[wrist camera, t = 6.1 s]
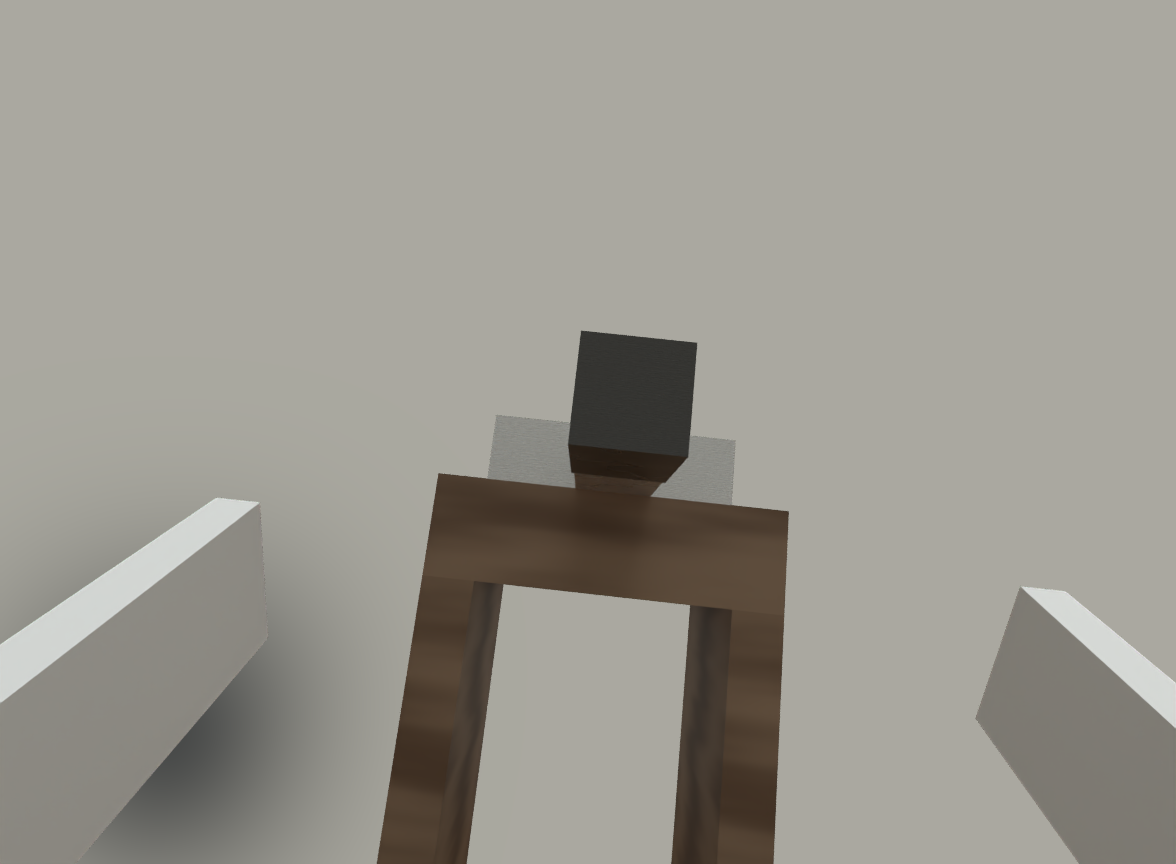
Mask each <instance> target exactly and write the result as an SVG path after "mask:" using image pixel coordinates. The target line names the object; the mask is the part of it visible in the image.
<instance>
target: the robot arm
mask: <svg viewBox="0 0 1176 864" xmlns="http://www.w3.org/2000/svg"><path fill="white" fill-rule="evenodd" d="M267 638H268V629H267V612H266V596H265V579H264V564H263V546H262V530H261V513H260V503H259V502H250V501H241V500H232V499H223V498H216V499H214V500H213V501H211V502H209V503H208V504H206V505H205V506H204V507H202V508H201V509H199V510H198V511H196V512H195V513H193V514H192V515H190V516H189V517H187V518H186V519H185V520H183V521H181V522H180V523H178V524H177V525H176V526H174V527H173V528H171V529H170V530H168V531H167V532H165V533H164V534H162V535H161V536H159V537H158V538H156V539H155V540H153V541H152V542H150V543H149V544H148V545H146V546H145V547H143V548H142V549H140V550H139V551H137V552H136V553H134V554H133V555H131V556H130V557H128V558H127V559H125V560H124V561H123V562H121V563H120V564H118V565H117V566H115V567H114V568H112V569H111V570H109V571H108V572H106V573H105V574H103V575H102V576H100V577H99V578H98V579H96V580H95V581H93V582H92V583H90V584H89V585H87V586H86V587H84V588H83V589H81V590H80V591H78V592H77V593H75V594H74V595H72V596H71V597H69V598H68V599H67V600H65V601H64V602H62V603H61V604H59V605H58V606H56V607H55V608H53V609H52V610H50V611H49V612H48V613H46V614H44V615H43V616H42V617H40V618H39V619H37V620H36V621H34V622H33V623H31V624H30V625H28V626H27V627H25V628H24V629H22V630H21V631H19V632H18V633H16V634H15V635H13V636H12V637H11V638H9V639H8V640H6V641H5V642H3V643H2V644H0V864H76V863H77V862H78V860H79V859H80V858H81V857H82V856H83V855H84V853H85V852H86V851H87V850H88V849H89V848H90V846H91V845H92V844H93V843H94V842H95V840H96V839H97V838H98V837H99V836H100V835H101V833H102V832H103V831H104V830H105V829H106V828H107V826H108V825H109V824H110V823H111V822H112V821H113V819H114V818H115V817H116V816H117V815H118V813H119V812H120V811H121V810H122V809H123V808H124V806H125V805H126V804H127V803H128V802H129V801H130V799H131V798H132V797H133V796H134V795H135V794H136V792H137V791H138V790H139V789H140V788H141V786H142V785H143V784H144V783H145V782H146V781H147V779H148V778H149V777H150V776H151V775H152V773H153V772H154V771H155V770H156V769H157V767H159V765H160V764H161V763H162V762H163V761H164V759H165V758H166V757H167V756H168V755H169V754H170V752H171V751H172V750H173V749H174V748H175V746H176V745H177V744H178V743H179V742H180V741H181V739H182V738H183V737H184V736H185V735H186V734H187V732H188V731H189V730H190V729H191V728H192V726H193V725H194V724H195V723H196V722H197V721H198V720H199V718H200V717H201V716H202V715H203V714H204V713H205V711H206V710H207V709H208V708H209V707H210V705H211V704H212V703H213V702H214V701H215V700H216V698H217V697H218V696H219V695H220V694H221V693H222V691H223V690H224V689H225V688H226V686H228V684H229V683H230V682H231V680H233V678H234V677H235V676H236V675H237V674H238V673H239V671H240V670H241V669H242V668H243V667H244V666H245V664H246V663H247V662H248V661H249V660H250V658H251V657H252V656H253V655H254V654H255V653H256V651H257V650H258V649H259V648H260V647H261V646H262V644H263V643H264V642H265V641H266V639H267ZM976 720H977V721H978V723H979V724H980V725H981V727H982V728H983V730H984V731H985V732H986V734H987V735H988V737H989V738H990V739H991V741H992V742H993V744H994V745H995V746H996V748H997V749H998V751H999V752H1000V753H1001V755H1002V756H1003V758H1004V759H1005V760H1006V762H1007V763H1008V765H1009V766H1010V767H1011V769H1012V770H1013V772H1014V773H1015V774H1016V776H1017V777H1018V779H1019V780H1020V781H1021V783H1022V784H1023V786H1024V787H1025V788H1026V790H1027V791H1028V793H1029V794H1030V795H1031V797H1032V798H1033V800H1034V801H1035V802H1036V804H1037V805H1038V807H1039V808H1040V809H1041V811H1042V812H1043V814H1044V815H1045V817H1046V818H1047V819H1048V821H1049V822H1050V823H1051V825H1052V826H1053V828H1054V829H1055V831H1056V832H1057V833H1058V835H1059V836H1060V837H1061V839H1062V840H1063V842H1064V843H1065V844H1066V846H1067V847H1068V849H1069V850H1070V851H1071V853H1072V854H1073V856H1074V857H1075V858H1076V860H1077V861H1078V863H1079V864H1176V683H1175V682H1174V681H1173V680H1172V679H1170V678H1169V677H1168V676H1166V675H1165V674H1164V673H1163V672H1162V671H1161V670H1159V669H1158V668H1157V667H1156V666H1155V665H1153V664H1152V663H1151V662H1150V661H1149V660H1147V659H1146V658H1145V657H1144V656H1143V655H1142V654H1140V653H1139V652H1138V651H1137V650H1135V649H1134V648H1133V647H1132V646H1131V645H1129V644H1128V643H1127V642H1126V641H1125V640H1123V639H1122V638H1121V637H1120V636H1119V635H1117V634H1116V633H1115V632H1114V631H1112V630H1111V629H1110V628H1109V627H1108V626H1107V625H1105V624H1104V623H1103V622H1102V621H1101V620H1099V619H1098V618H1097V617H1096V616H1095V615H1093V614H1092V613H1091V612H1090V611H1088V610H1087V609H1086V608H1085V607H1084V606H1083V605H1081V604H1080V603H1079V602H1078V601H1077V600H1075V599H1074V598H1073V597H1071V596H1070V595H1069V594H1068V593H1067V592H1066V591H1058V590H1048V589H1039V588H1030V587H1020V589H1019V592H1018V595H1017V597H1016V601H1015V604H1014V607H1013V609H1012V612H1011V615H1010V618H1009V621H1008V624H1007V627H1006V630H1005V633H1004V636H1003V639H1002V642H1001V645H1000V648H999V651H998V654H997V657H996V659H995V662H994V665H993V669H992V671H991V674H990V677H989V680H988V683H987V686H986V689H985V692H984V695H983V698H982V701H981V704H980V707H979V710H978V713H977V715H976Z"/></svg>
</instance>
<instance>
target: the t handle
mask: <svg viewBox="0 0 1176 864" xmlns="http://www.w3.org/2000/svg"><path fill="white" fill-rule="evenodd" d="M696 351H697V343H693V342H684V341H674V340H665V339H654V338H646V337H636V336H627V335H617V334H608V333H597V332H589V331H581V337H580V345H579V354H578V363H577V371H576V379H575V389H574V397H573V406H572V413H571V422H570V423H567V422H557V421H548V420H539V419H529V418H520V417H511V416H502V415H496V422H495V429H494V436H493V443H492V450H491V458H490V464H489V472H488V479H495V480H504V481H514V482H523V483H532V484H541V485H550V486H560V487H569V488H578V489H587V490H596V491H605V492H615V493H624V494H633V495H642V496H651V497H661V498H670V499H679V500H688V501H697V502H706V503H716V504H725V505H731V504H732V488H733V473H734V456H735V440H725V439H716V438H707V437H697V436H690V429H691V428H690V427H691V416H692V403H693V389H694V376H695V364H696Z"/></svg>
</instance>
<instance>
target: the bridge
mask: <svg viewBox="0 0 1176 864" xmlns="http://www.w3.org/2000/svg"><path fill="white" fill-rule="evenodd" d="M788 515H789V512H788V511H779V510H771V509H762V508H752V507H742V506H734V505H725V504H716V503H706V502H697V501H688V500H679V499H670V498H661V497H651V496H642V495H633V494H624V493H615V492H605V491H596V490H587V489H578V488H569V487H560V486H550V485H541V484H532V483H523V482H514V481H504V480H495V479H486V478H477V477H468V476H458V475H449V474H440V473H439V474H438V480H437V487H436V493H435V499H434V505H433V512H432V518H431V524H430V531H429V537H428V543H427V550H426V556H425V562H424V569H423V575H422V582H421V588H420V594H419V600H418V607H417V613H416V620H415V626H414V632H413V638H412V645H411V651H410V657H409V664H408V670H407V676H406V683H405V689H404V696H403V702H402V708H401V714H400V721H399V727H398V733H397V739H396V746H395V753H394V759H393V765H392V771H391V778H390V784H389V790H388V797H387V803H386V809H385V815H384V822H383V828H382V834H381V841H380V847H379V853H378V860H377V864H467V856H468V848H469V841H470V833H471V825H472V817H473V811H474V803H475V795H476V788H477V780H478V773H479V765H480V757H481V750H482V743H483V735H484V727H485V720H486V712H487V704H488V697H489V690H490V681H491V675H492V667H493V659H494V652H495V644H496V636H497V629H498V621H499V613H500V606H501V599H502V591H503V584H506V585H515V586H524V587H533V588H542V589H551V590H560V591H569V592H578V593H587V594H596V595H605V596H614V597H622V598H632V599H641V600H650V601H658V602H667V603H676V604H686V605H690V616H689V630H688V644H687V657H686V672H685V684H684V698H683V711H682V725H681V739H680V752H679V766H678V780H677V793H676V808H675V822H674V835H673V850H672V862H671V864H773V861H774V838H775V814H776V791H777V790H776V789H777V769H778V746H779V745H778V744H779V723H780V699H781V676H782V654H783V631H784V608H785V585H786V562H787V540H788Z"/></svg>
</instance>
